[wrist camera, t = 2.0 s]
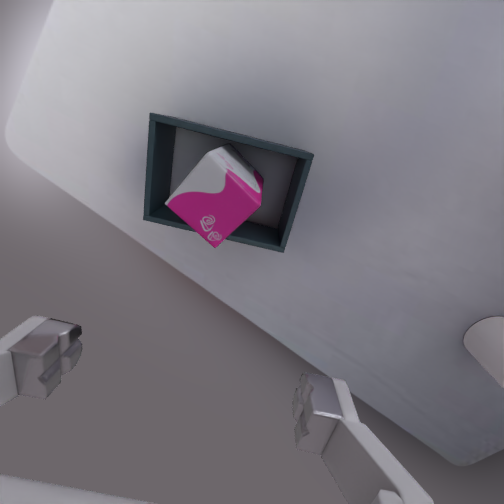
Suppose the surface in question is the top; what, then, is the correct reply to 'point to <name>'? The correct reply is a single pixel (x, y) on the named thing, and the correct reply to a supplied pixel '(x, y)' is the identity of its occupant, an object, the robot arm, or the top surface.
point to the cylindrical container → (488, 345)
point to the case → (165, 129)
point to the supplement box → (218, 194)
